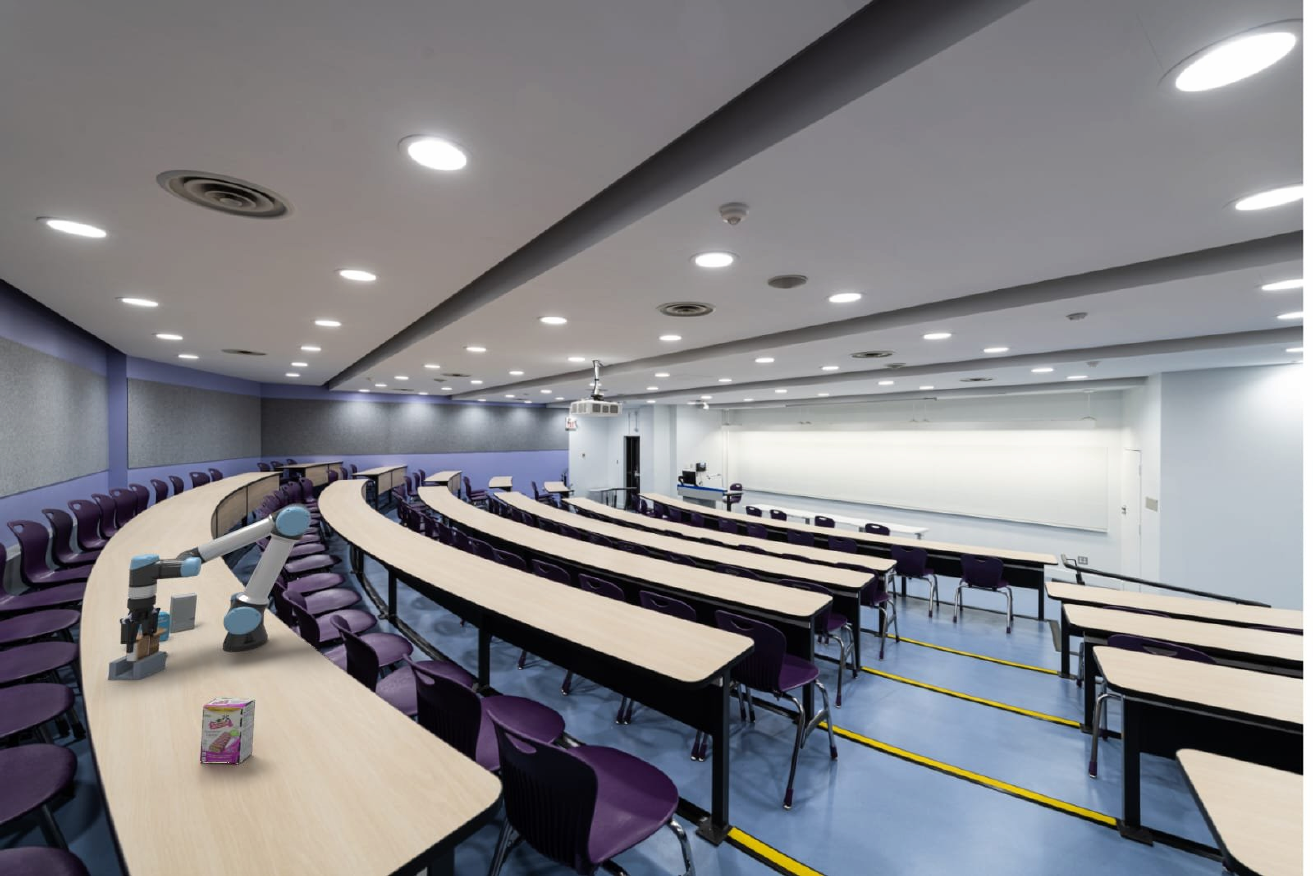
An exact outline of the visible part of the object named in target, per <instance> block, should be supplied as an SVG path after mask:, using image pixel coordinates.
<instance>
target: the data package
mask: <svg viewBox="0 0 1313 876" xmlns="http://www.w3.org/2000/svg"><path fill="white" fill-rule="evenodd" d="M169 614H170V613H167V612H166V611H160V612H159V616H158V626H157V628H166V629H167V633H165V634H163V635H160V641H159V643H162V642H165V641H167V640H168V639H169V637H170V631H169V628H170V615H169ZM140 632H142V628H141V624H140V626H139V630H138V634H137V635H139V633H140Z"/></svg>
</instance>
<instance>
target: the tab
mask: <svg viewBox="0 0 1313 876" xmlns="http://www.w3.org/2000/svg"><path fill="white" fill-rule="evenodd" d="M135 643H137V657H136V661H138V660H141V659H143V658H145V657H147V656H148V648H149V635H137V638H136V642H135ZM125 656H126V661H127V654H126V655H125Z"/></svg>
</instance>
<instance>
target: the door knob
mask: <svg viewBox="0 0 1313 876" xmlns="http://www.w3.org/2000/svg"><path fill="white" fill-rule="evenodd" d="M165 633H167V629H166V628H157V633H156V634H153V635H154V637H151V641H150V645H149V655H148V656H150V655H153V654H155V653H157V652H159V651H160V642H159V641H160V635H163V634H165ZM139 635H142V632H140V633H139ZM148 656H147V657H148ZM167 657H168V652H167V651H166V658H167ZM145 658H146V657H145ZM143 659H144V658H143Z"/></svg>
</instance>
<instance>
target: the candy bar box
mask: <svg viewBox="0 0 1313 876" xmlns="http://www.w3.org/2000/svg"><path fill="white" fill-rule="evenodd" d="M202 708H203V709H202V723H201V738H200V739H201V741H200V753H199V762H200V761H201V762H227V763H228V762H229V763H238V764H237V765H240V764H241V763H240V762H241V761H242V760H244V759H245V758H246V757H248V756H249V755H250V756H252V754H253V744H254V743H253V742H254V728H255V727H254V726H255V712H256V711H255V710H256V709H255V708H256V698H234V697H216V698H214V699H213V700H211V701H209V702H208V703H206V704H204V705H203V706H202ZM250 756H249V757H250ZM249 757H248V758H249ZM246 759H247V758H246ZM246 759H245V760H246ZM245 760H244V761H245ZM239 763H240V764H239Z"/></svg>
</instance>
